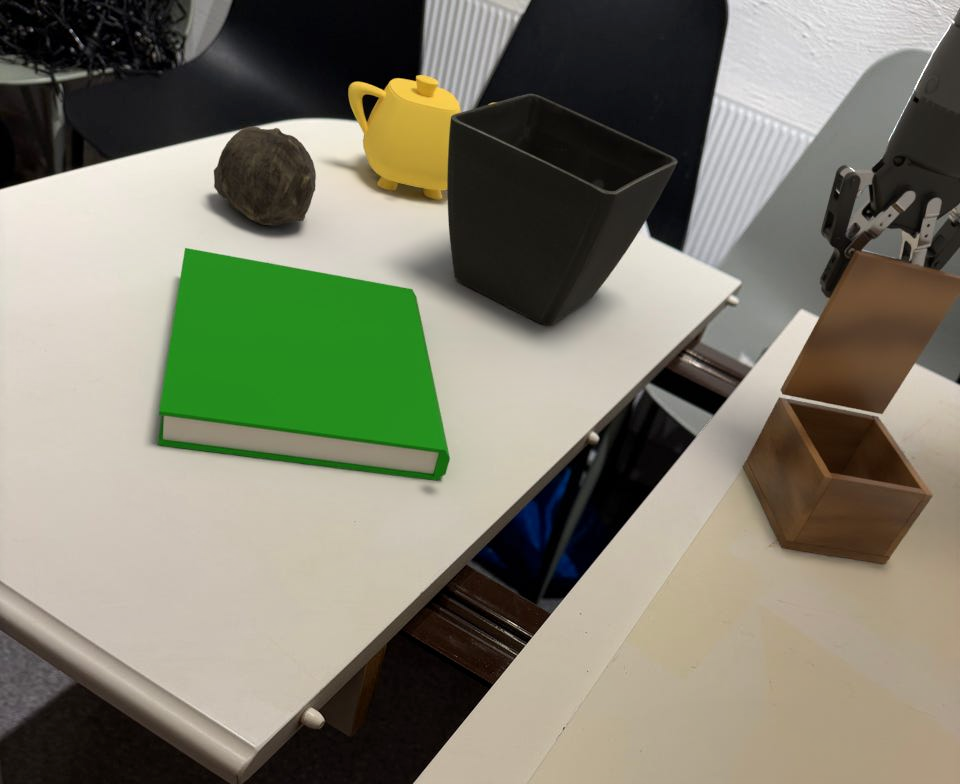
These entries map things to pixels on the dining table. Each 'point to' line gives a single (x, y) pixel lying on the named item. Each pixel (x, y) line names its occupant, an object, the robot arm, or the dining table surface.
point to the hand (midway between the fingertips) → (854, 300)
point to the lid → (871, 332)
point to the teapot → (407, 132)
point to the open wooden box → (834, 482)
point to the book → (300, 369)
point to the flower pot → (544, 202)
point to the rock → (266, 176)
